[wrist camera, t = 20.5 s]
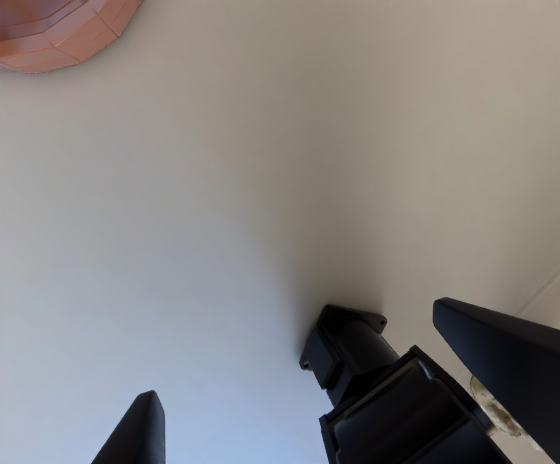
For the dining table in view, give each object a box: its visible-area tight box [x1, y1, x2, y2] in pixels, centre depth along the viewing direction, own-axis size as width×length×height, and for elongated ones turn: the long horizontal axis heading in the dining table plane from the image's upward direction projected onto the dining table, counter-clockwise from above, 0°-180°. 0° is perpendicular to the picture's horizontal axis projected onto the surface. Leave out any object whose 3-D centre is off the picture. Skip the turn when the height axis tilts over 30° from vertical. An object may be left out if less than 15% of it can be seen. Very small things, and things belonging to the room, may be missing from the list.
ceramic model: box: [471, 375, 546, 454], centre depth 31 cm, size 14×11×10 cm
